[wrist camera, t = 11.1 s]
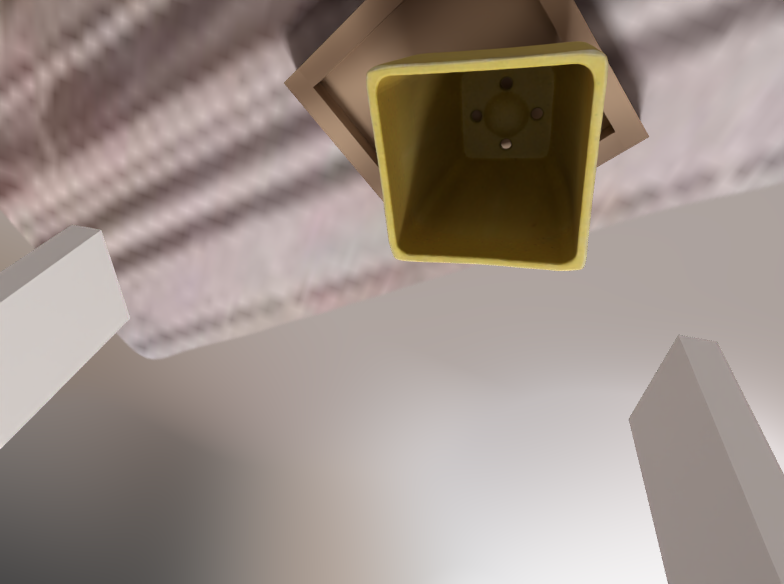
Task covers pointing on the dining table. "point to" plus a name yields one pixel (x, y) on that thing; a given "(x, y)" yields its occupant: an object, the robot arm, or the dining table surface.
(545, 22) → the walnut tray
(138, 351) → the dining table surface
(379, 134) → the flower pot
